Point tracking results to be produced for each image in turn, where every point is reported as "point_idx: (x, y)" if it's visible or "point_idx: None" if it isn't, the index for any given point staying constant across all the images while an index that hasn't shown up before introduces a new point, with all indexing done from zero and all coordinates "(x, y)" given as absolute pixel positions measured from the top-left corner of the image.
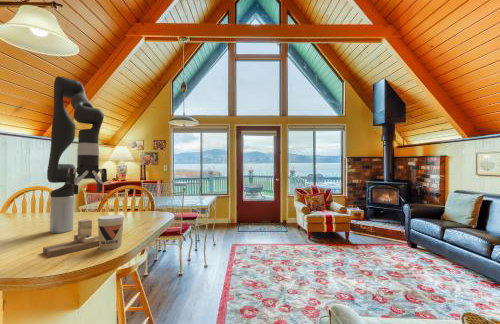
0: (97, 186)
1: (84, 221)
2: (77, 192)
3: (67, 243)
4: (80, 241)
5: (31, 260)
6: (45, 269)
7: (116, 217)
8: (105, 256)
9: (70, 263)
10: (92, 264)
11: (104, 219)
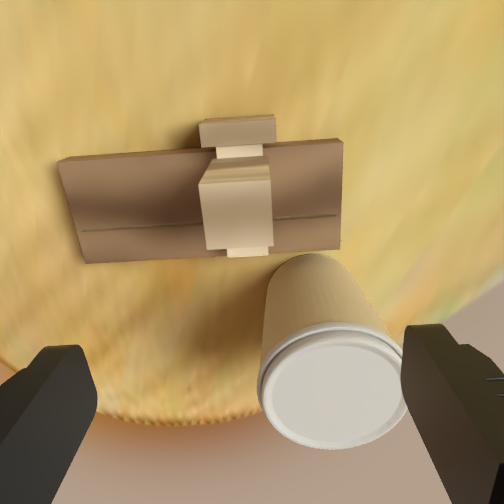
0: (457, 436)
1: (223, 248)
2: (78, 430)
3: (160, 184)
4: None
5: (33, 237)
6: None
7: (350, 423)
8: (245, 379)
9: (143, 362)
10: (191, 411)
11: (275, 427)
